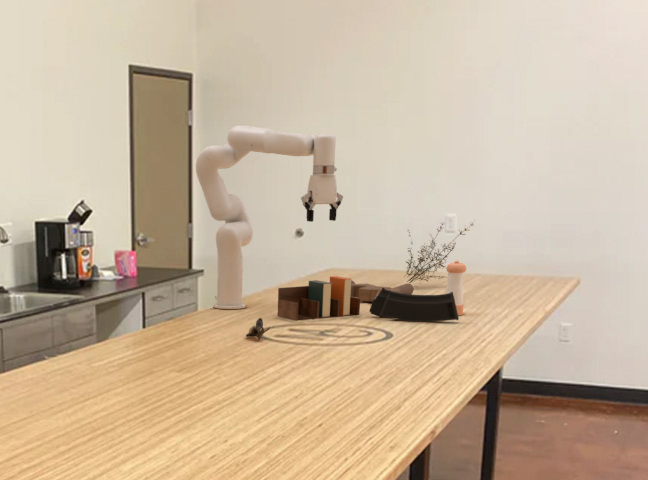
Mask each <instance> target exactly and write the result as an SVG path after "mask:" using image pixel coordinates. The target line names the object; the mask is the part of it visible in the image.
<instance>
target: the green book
mask: <svg viewBox="0 0 648 480" xmlns="http://www.w3.org/2000/svg"><path fill="white" fill-rule="evenodd" d="M308 286H309V289H308V299H310V300H314V301H319V317H330V299H331V283H330V281H329V282H328V281H323V280H317V279H315V280H314V279H313V280H308Z"/></svg>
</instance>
